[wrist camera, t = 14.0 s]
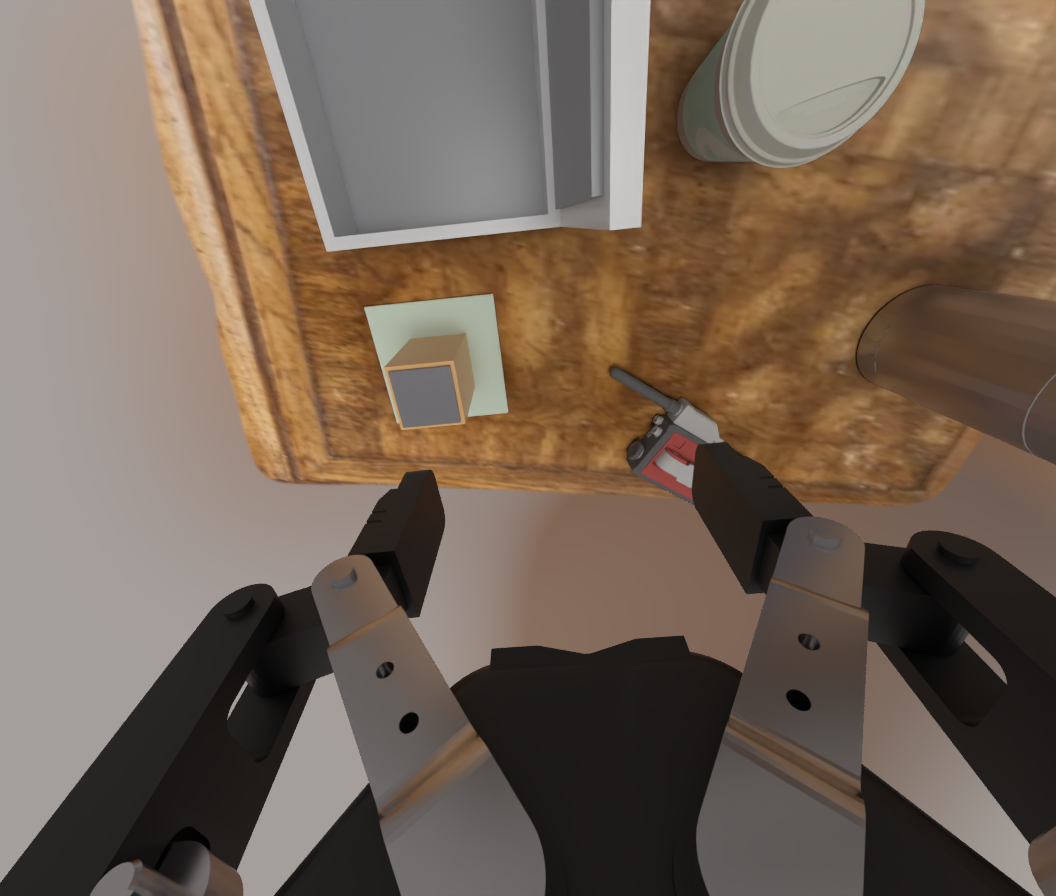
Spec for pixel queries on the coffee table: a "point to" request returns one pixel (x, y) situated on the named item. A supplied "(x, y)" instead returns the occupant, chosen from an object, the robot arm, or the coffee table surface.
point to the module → (432, 381)
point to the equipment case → (462, 113)
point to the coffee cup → (796, 78)
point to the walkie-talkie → (669, 440)
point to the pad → (447, 318)
